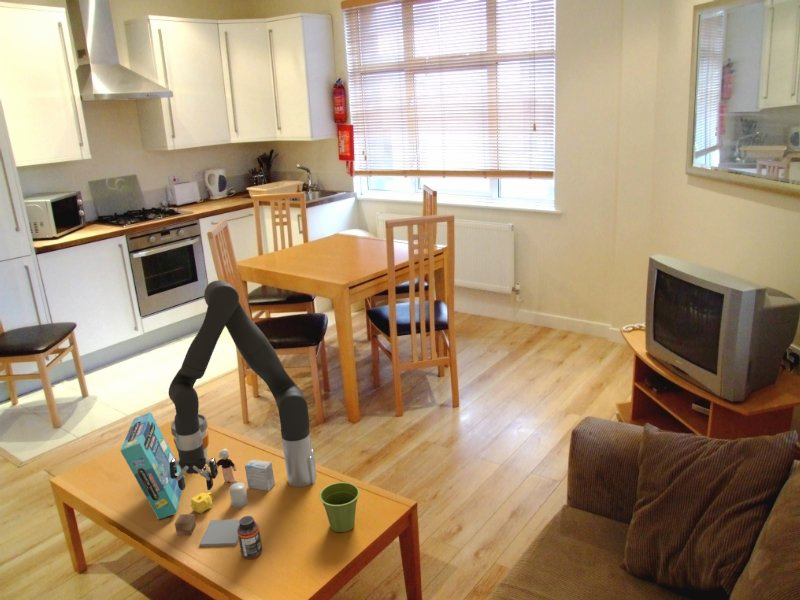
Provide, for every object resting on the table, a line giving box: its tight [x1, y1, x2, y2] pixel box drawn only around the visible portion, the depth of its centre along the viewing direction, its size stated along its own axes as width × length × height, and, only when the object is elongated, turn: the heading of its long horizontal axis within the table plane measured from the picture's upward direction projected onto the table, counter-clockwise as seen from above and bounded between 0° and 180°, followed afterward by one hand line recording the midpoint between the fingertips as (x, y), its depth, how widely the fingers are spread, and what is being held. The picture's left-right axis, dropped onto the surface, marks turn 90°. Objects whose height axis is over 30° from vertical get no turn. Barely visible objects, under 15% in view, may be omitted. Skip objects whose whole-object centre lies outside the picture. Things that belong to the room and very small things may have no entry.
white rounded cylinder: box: [228, 482, 249, 509], centre depth 213 cm, size 5×5×6 cm
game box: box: [119, 411, 186, 520], centre depth 214 cm, size 20×6×27 cm, turn 10°
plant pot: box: [319, 481, 361, 533], centre depth 198 cm, size 12×12×11 cm
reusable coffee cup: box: [170, 413, 210, 460], centre depth 240 cm, size 12×13×15 cm
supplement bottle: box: [237, 515, 263, 560], centre depth 189 cm, size 6×6×11 cm
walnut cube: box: [174, 513, 197, 537], centre depth 202 cm, size 4×4×4 cm
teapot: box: [189, 491, 213, 514], centre depth 211 cm, size 8×6×5 cm
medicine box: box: [244, 459, 276, 492], centre depth 221 cm, size 8×4×9 cm, turn 71°
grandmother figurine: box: [216, 448, 238, 486], centre depth 224 cm, size 8×4×13 cm, turn 84°
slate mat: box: [198, 518, 241, 547], centre depth 200 cm, size 11×11×1 cm
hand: (196, 488), depth 210 cm, fingers open, 8 cm apart
